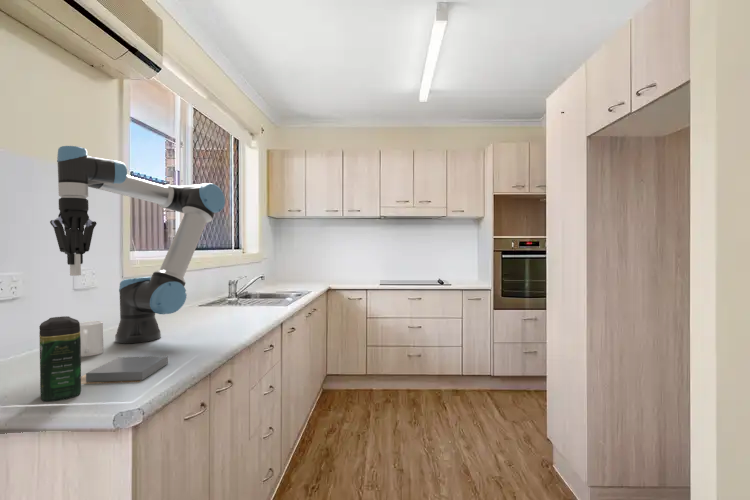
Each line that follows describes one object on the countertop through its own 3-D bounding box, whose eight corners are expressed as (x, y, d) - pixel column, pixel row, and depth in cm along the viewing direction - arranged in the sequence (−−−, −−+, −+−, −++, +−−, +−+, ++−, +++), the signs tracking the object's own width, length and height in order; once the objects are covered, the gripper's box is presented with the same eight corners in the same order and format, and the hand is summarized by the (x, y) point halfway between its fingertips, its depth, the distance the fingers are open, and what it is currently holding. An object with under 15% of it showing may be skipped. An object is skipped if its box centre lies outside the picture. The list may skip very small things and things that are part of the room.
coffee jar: (83, 398, 103) (81, 317, 103) (40, 405, 98) (38, 321, 98) (80, 387, 111) (78, 313, 110) (40, 394, 106) (38, 316, 106)
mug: (99, 358, 139) (98, 325, 139) (68, 361, 136) (67, 328, 136) (105, 350, 150) (104, 320, 150) (76, 353, 147) (75, 322, 147)
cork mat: (105, 366, 130) (105, 364, 130) (168, 364, 131) (168, 363, 131) (65, 385, 112) (65, 384, 112) (139, 383, 113) (139, 381, 113)
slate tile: (118, 357, 129) (167, 355, 130) (118, 365, 129) (167, 363, 130) (85, 373, 113) (142, 371, 114) (86, 382, 113) (142, 380, 114)
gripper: (86, 200, 143) (87, 273, 143) (42, 196, 131) (44, 276, 131) (102, 199, 140) (104, 274, 140) (59, 195, 128) (61, 277, 128)
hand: (75, 275), depth 136 cm, fingers closed
